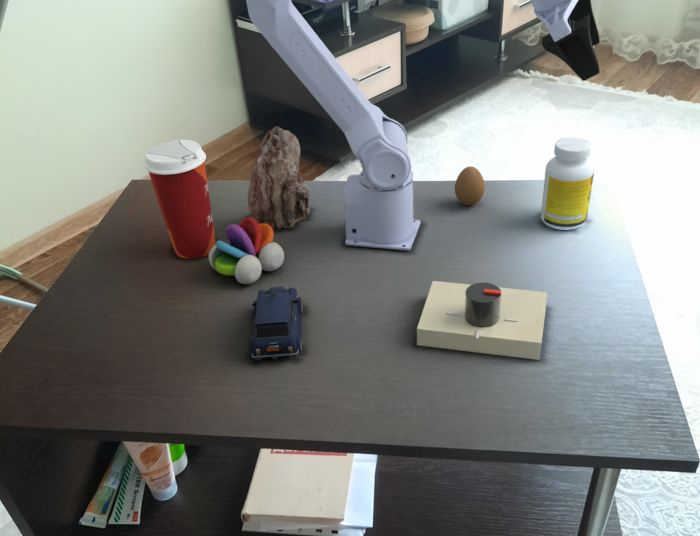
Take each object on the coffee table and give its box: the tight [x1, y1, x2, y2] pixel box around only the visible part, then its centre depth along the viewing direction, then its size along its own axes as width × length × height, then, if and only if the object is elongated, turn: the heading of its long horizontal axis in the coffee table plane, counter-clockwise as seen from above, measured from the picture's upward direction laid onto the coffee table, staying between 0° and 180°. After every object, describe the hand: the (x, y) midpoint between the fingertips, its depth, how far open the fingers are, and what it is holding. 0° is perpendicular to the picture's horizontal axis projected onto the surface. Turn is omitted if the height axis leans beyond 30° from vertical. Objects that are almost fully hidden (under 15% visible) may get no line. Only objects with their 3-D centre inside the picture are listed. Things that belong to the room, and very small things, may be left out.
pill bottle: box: [540, 136, 595, 231], centre depth 102 cm, size 6×6×12 cm
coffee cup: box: [143, 139, 217, 260], centre depth 101 cm, size 8×8×15 cm
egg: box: [454, 166, 486, 206], centre depth 109 cm, size 4×4×6 cm
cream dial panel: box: [416, 280, 548, 361], centre depth 86 cm, size 14×11×3 cm
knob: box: [465, 282, 501, 327], centre depth 84 cm, size 4×4×4 cm
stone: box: [247, 125, 311, 230], centre depth 106 cm, size 15×7×10 cm
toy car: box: [248, 286, 303, 361], centre depth 87 cm, size 6×12×6 cm, turn 2°
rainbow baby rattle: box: [208, 216, 285, 285], centre depth 98 cm, size 8×10×7 cm
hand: (591, 60), depth 90 cm, fingers open, 7 cm apart
